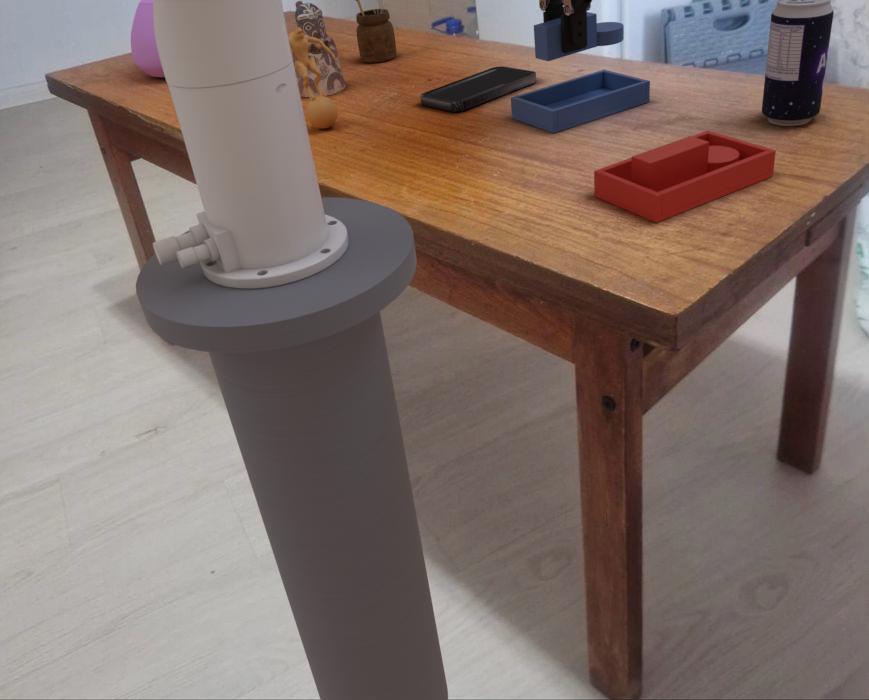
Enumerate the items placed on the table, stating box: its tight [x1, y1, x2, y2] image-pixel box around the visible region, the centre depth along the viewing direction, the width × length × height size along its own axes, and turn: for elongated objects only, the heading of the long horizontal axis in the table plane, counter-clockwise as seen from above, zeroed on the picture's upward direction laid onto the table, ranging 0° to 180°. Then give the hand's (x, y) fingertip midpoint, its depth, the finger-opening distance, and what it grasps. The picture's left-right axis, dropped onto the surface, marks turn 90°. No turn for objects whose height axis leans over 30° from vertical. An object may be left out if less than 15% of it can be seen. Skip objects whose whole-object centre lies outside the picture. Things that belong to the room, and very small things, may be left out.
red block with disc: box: [631, 135, 740, 192], centre depth 75 cm, size 11×4×4 cm, turn 120°
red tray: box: [593, 130, 777, 223], centre depth 75 cm, size 14×8×2 cm, turn 120°
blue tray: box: [510, 69, 651, 134], centre depth 97 cm, size 14×8×2 cm, turn 120°
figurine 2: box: [288, 27, 339, 130], centre depth 101 cm, size 8×6×12 cm
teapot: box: [130, 0, 165, 78], centre depth 138 cm, size 22×22×14 cm
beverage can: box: [761, 0, 835, 127], centre depth 84 cm, size 6×6×12 cm
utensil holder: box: [355, 0, 397, 64], centre depth 128 cm, size 6×6×12 cm
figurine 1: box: [291, 0, 346, 98], centre depth 116 cm, size 7×7×12 cm
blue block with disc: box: [533, 11, 625, 62], centre depth 93 cm, size 11×4×4 cm, turn 120°
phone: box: [419, 65, 537, 113], centre depth 108 cm, size 8×1×15 cm
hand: (565, 46), depth 93 cm, fingers closed on blue block with disc, 2 cm apart
